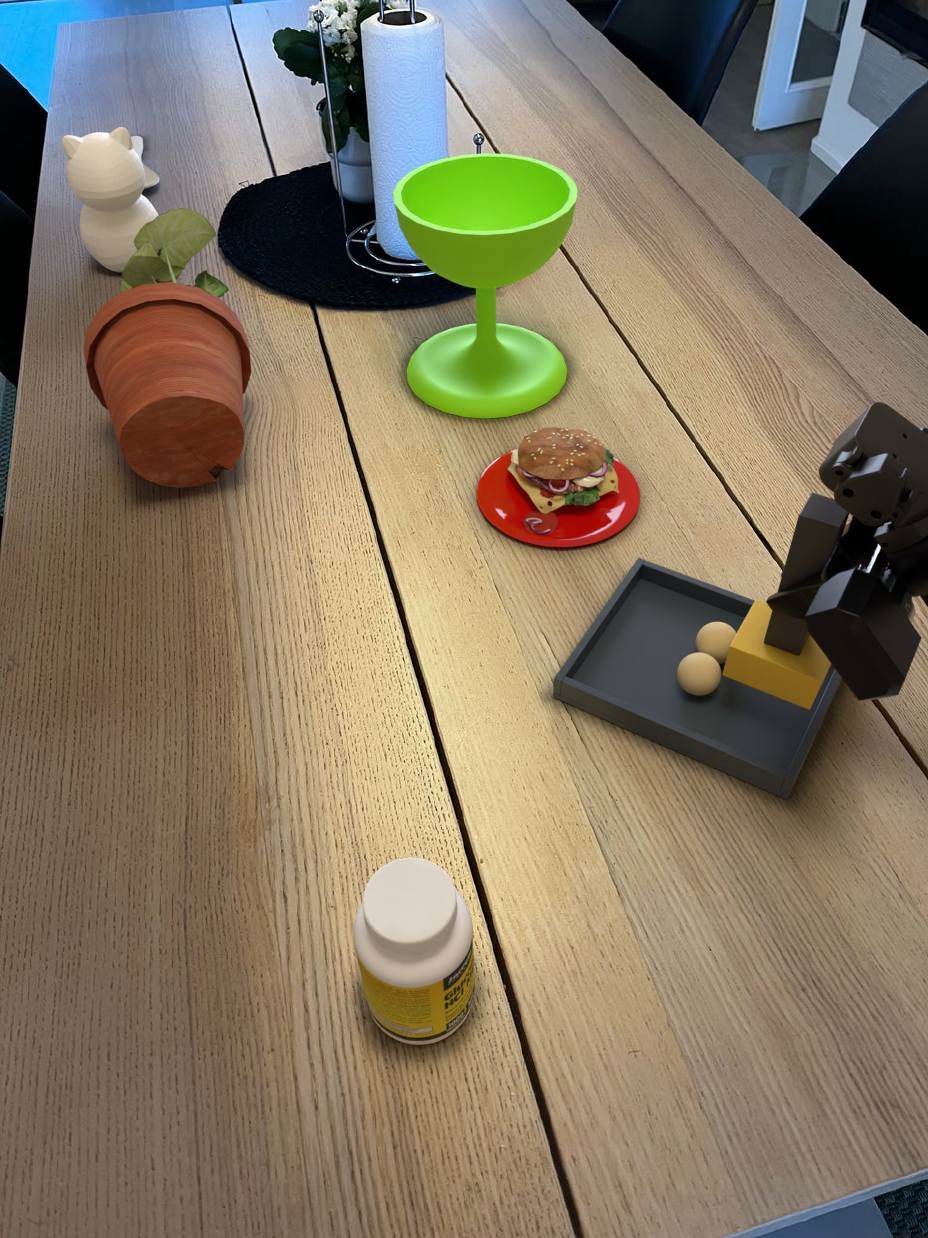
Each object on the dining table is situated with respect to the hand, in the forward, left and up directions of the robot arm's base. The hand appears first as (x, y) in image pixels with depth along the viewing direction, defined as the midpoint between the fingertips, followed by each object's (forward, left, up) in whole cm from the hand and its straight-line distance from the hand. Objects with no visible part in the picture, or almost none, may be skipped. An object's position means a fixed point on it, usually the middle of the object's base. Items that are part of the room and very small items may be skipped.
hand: (777, 592), depth 65 cm
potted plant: (+57, -24, -11) cm, 63 cm away
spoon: (+87, -71, -11) cm, 113 cm away
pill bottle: (+16, +27, -11) cm, 33 cm away
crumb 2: (+4, +1, -8) cm, 9 cm away
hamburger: (+18, -18, -11) cm, 28 cm away
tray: (+3, -1, -10) cm, 11 cm away
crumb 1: (+3, -3, -8) cm, 9 cm away
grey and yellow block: (-1, 0, -7) cm, 7 cm away
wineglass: (+29, -35, -11) cm, 47 cm away
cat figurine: (+76, -48, -11) cm, 91 cm away
